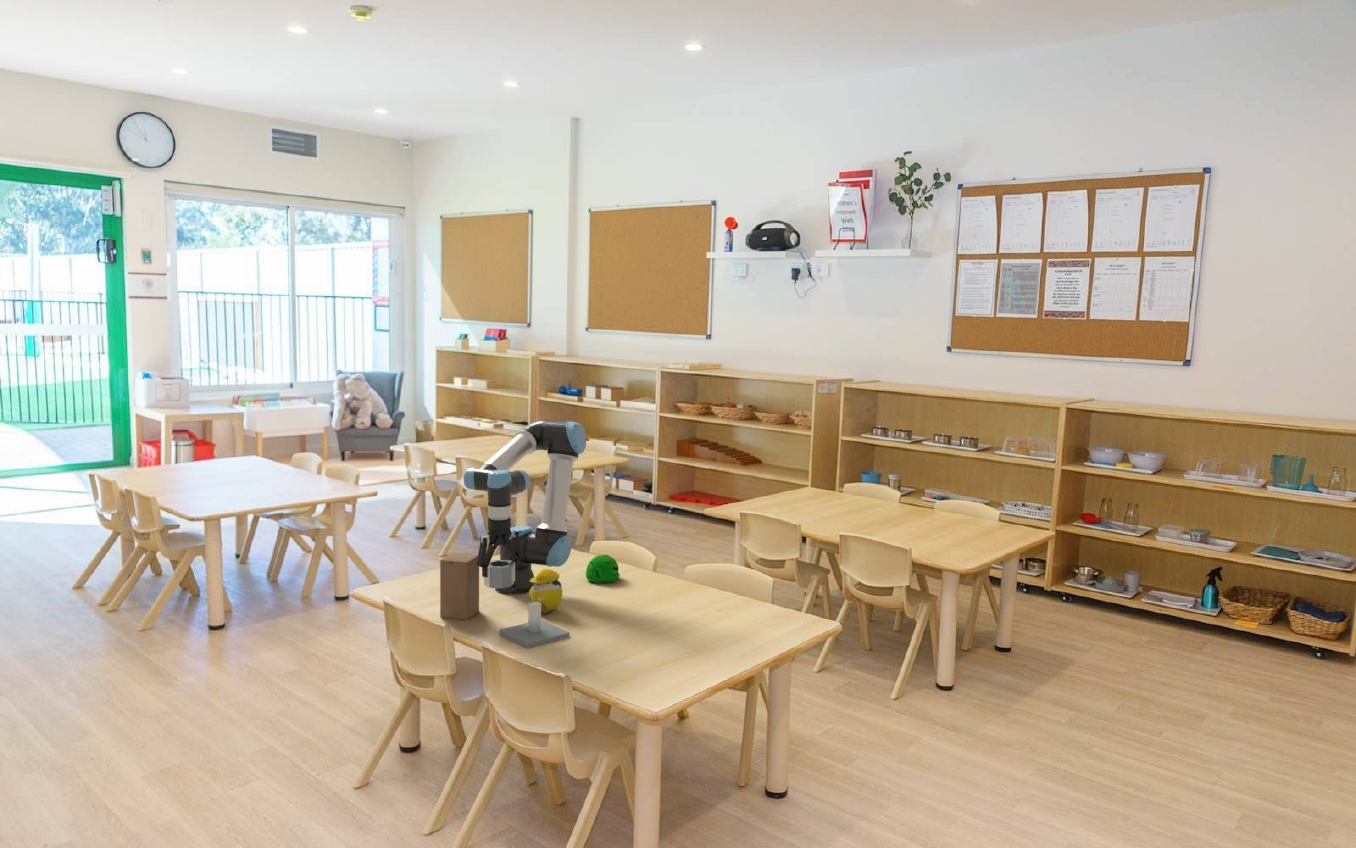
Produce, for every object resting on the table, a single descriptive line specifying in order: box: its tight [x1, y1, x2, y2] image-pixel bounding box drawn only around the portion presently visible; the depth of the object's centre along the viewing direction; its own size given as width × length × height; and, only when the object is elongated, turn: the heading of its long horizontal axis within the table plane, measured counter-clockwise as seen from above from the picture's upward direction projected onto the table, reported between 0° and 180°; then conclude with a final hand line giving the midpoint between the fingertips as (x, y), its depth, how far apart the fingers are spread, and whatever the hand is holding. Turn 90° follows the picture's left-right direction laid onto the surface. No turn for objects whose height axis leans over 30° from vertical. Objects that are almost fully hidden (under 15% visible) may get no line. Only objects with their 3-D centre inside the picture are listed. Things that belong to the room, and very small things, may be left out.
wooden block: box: [439, 552, 480, 621], centre depth 311 cm, size 10×10×20 cm
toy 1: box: [528, 568, 563, 614], centre depth 317 cm, size 13×10×15 cm
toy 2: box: [585, 554, 621, 584], centre depth 356 cm, size 14×13×10 cm
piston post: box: [499, 602, 571, 649], centre depth 293 cm, size 16×16×10 cm
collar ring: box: [488, 559, 514, 589], centre depth 303 cm, size 9×9×7 cm
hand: (499, 583), depth 304 cm, fingers closed on collar ring, 9 cm apart
